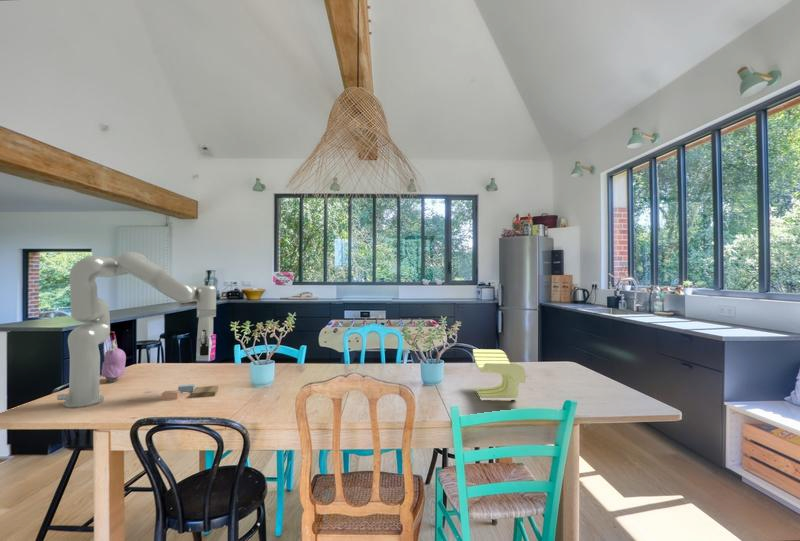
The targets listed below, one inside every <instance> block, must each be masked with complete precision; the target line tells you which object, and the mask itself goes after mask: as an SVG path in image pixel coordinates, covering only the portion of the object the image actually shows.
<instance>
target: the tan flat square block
mask: <svg viewBox="0 0 800 541" xmlns="http://www.w3.org/2000/svg"><path fill="white" fill-rule="evenodd" d="M218 391H219V385H208V386H196V387H195V389H194V391H193V392H190V393H191V395H190V396H191V399H194V398H207V397H215V396H216V395H217V393H218Z"/></svg>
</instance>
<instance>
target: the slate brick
mask: <svg viewBox="0 0 800 541" xmlns="http://www.w3.org/2000/svg"><path fill="white" fill-rule="evenodd" d="M195 384H196V383H191V384H190V383H189V384H187V383H186V384H179V385H178V386H177V387H178V389H177V391H180V394H184V393H183V392H188V393H192V392H193V391H194V389H195V388H196V387H195V386H196V385H195Z"/></svg>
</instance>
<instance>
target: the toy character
mask: <svg viewBox="0 0 800 541" xmlns="http://www.w3.org/2000/svg"><path fill="white" fill-rule="evenodd" d="M126 355H127V354H126V352H125V351H124V350H123V349H121V348H118V345H117V344H116V339H112V340H111V347H110V349H108V350H107V351H105V355H104V357H103V360H104V361H103V362H102V367H101V369H100V375H101V376H102V377H103V378H104V377H105V379H106V380H107V381H108V382H109V383H114V382H115V381H116V380H117V379H118V378H122V376H124V375H125V371H126V363H127V362H126V361H127V356H126Z"/></svg>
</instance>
